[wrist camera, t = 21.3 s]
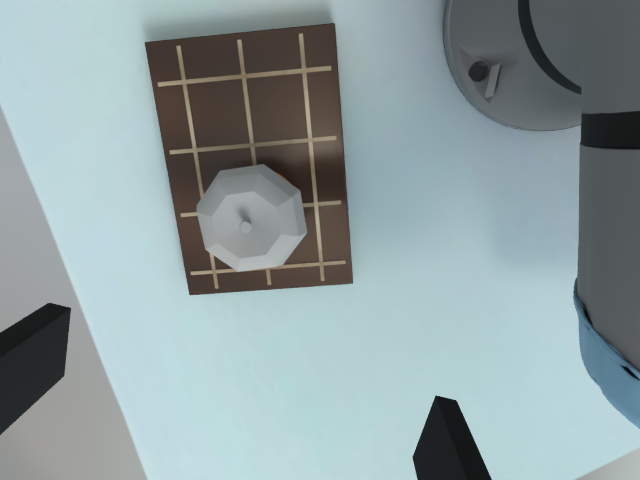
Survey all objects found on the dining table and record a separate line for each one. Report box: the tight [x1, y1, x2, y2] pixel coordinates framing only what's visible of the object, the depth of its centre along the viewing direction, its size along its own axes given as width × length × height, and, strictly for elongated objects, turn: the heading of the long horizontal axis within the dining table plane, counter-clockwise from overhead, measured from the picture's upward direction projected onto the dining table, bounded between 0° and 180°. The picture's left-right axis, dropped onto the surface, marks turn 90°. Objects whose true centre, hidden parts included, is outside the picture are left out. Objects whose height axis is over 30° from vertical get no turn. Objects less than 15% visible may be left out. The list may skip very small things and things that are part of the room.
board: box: [145, 23, 353, 295], centre depth 34 cm, size 20×14×1 cm
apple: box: [197, 164, 307, 272], centre depth 31 cm, size 8×8×7 cm
